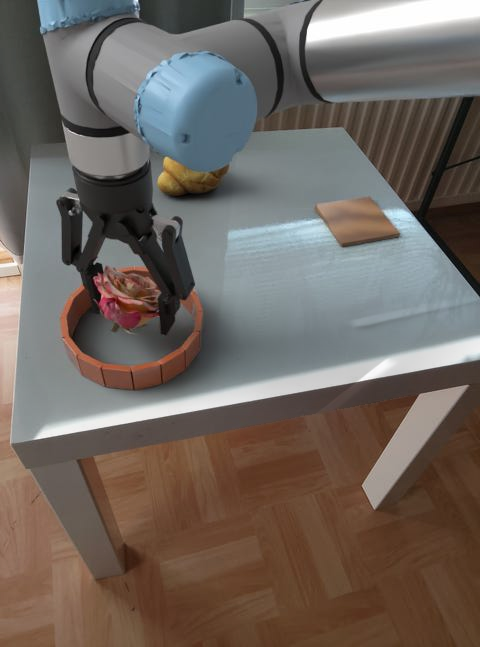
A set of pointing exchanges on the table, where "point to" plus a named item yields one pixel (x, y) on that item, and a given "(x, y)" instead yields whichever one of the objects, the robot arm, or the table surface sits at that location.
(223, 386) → the table surface
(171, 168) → the bread roll
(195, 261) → the table surface
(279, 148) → the table surface
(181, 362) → the terracotta brick ring
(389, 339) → the table surface
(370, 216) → the brown wooden square board
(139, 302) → the flower
